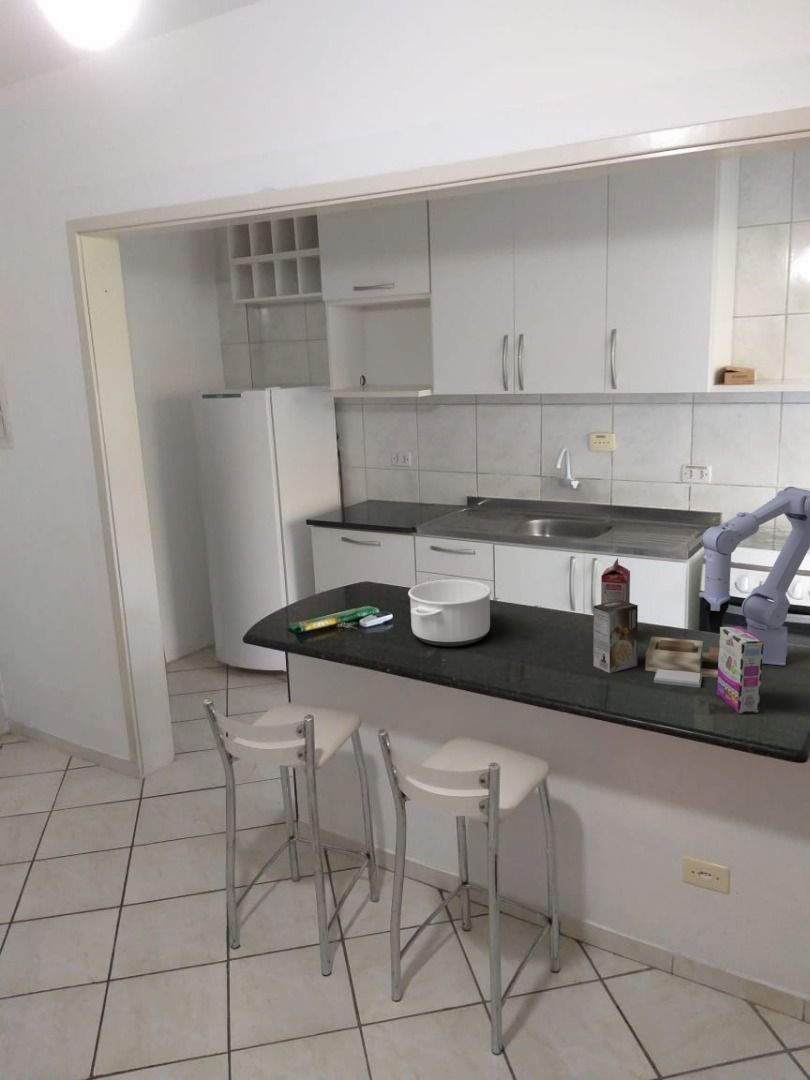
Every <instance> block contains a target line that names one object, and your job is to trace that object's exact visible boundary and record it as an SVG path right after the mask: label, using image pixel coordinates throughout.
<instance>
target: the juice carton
mask: <svg viewBox="0 0 810 1080" xmlns="http://www.w3.org/2000/svg"><path fill="white" fill-rule="evenodd" d="M600 581H601V584H600V588H601V589H600V590H601V591H600V604H604V603H609V602H613V601H618V600H623V601H626V602H629V603H631V601H630V599H631V597H630V596H631V595H630V594H631V591H630V590H631V570H629V569H628V568H626V567H624V566H622V565H621V564H619V558H618V557H617V558H616V560H615V561H614V562H613V565H612V566H610V567H608V568H606V569H605V570H604V571H603V573H602V575H601V579H600Z"/></svg>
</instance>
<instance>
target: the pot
mask: <svg viewBox="0 0 810 1080" xmlns="http://www.w3.org/2000/svg"><path fill="white" fill-rule="evenodd" d="M491 594H492V588H491V587H490V586H489V585H487V584H485V583H482V582H479V581H474V580H468V579H439V580H438V579H437V580H432V581H430V580H429V581H425V582H423V583H420V584H417V585H414V586H413V587H411V588H410V589H409V590H408V593H407V596H408V597H409V599H410V600H409V601H410V602H409V603H410V619H411V621H410V622H411V623H410V626H411V630H412V633H413V634H414V636H415V637H416V638H417V639H418V640H419V641H421V642H423V643H426V644H429V645H433V646H439V647H460V646H461V647H462V646H466V645H470V644H473V643H477V642H479V641H481V640H482V639H483V638H485V637H486V636H487V634H488V633H489V631H490V628H491V609H490V608H491V605H490V603H491V602H490V601H491V600H490V599H491V598H490V595H491Z"/></svg>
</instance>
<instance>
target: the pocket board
mask: <svg viewBox="0 0 810 1080" xmlns="http://www.w3.org/2000/svg"><path fill="white" fill-rule="evenodd" d="M661 640H669V641H680V642H692V643H694V651H695V652H698V653H689V652H678V651H667V650H658V648H659V645H660V642H661ZM645 652H646V653H645V669H644V670H645V671H647V672H655V673H656V671H657V670H658V669H664V670H674V671H684V672H694V673H700V674H702V677H705V678H706V677H707V678H715V679H718V669H712V668H702V664H703V662H710V663H711V662H712V663H718V661H719V660H716V659H706V658H701V653H702V652H704V640H695V639H683V638H671V637H662V636H651V637H650V641H649V643H648V647H647V648H646V651H645Z"/></svg>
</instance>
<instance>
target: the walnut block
mask: <svg viewBox="0 0 810 1080" xmlns="http://www.w3.org/2000/svg"><path fill="white" fill-rule="evenodd" d="M659 650H667V651H678V652H689V653H694V643H692V642H680V641H669V640H661V642H660V645H659Z"/></svg>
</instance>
